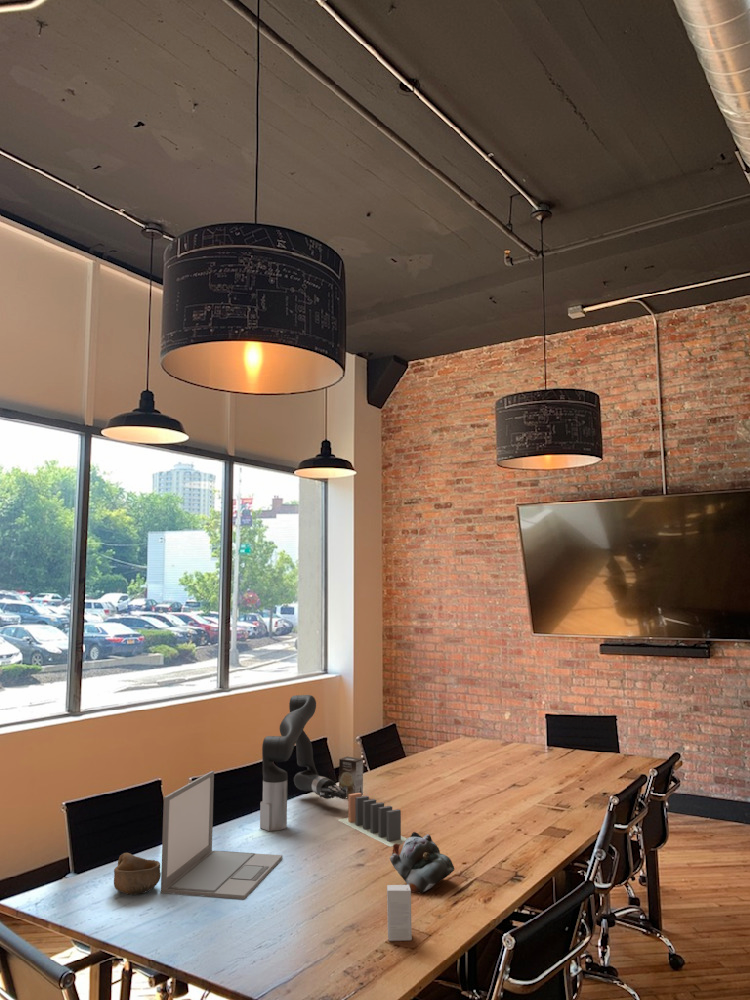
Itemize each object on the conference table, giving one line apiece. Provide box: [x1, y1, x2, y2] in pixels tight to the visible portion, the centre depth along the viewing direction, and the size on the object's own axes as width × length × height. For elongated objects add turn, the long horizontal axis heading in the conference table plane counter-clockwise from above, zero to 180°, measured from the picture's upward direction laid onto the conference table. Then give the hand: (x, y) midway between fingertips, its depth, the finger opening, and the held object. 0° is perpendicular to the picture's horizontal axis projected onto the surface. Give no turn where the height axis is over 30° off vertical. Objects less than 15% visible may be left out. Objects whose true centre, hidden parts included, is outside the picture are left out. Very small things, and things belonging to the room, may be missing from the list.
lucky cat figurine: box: [389, 831, 455, 894], centre depth 228 cm, size 17×14×16 cm
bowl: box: [113, 852, 161, 896], centre depth 223 cm, size 18×14×10 cm
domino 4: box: [370, 802, 385, 834], centre depth 277 cm, size 2×5×10 cm, turn 122°
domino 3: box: [363, 798, 377, 830], centre depth 281 cm, size 2×5×10 cm, turn 122°
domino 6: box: [387, 808, 402, 842], centre depth 268 cm, size 2×5×10 cm, turn 122°
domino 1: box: [347, 793, 362, 823], centre depth 291 cm, size 2×5×10 cm, turn 122°
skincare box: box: [386, 884, 413, 942], centre depth 192 cm, size 6×4×12 cm
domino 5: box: [378, 805, 393, 838], centre depth 272 cm, size 2×5×10 cm, turn 122°
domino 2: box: [355, 795, 370, 826], centre depth 286 cm, size 2×5×10 cm, turn 121°
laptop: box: [160, 770, 283, 900], centre depth 237 cm, size 35×26×27 cm
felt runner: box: [337, 817, 408, 848], centre depth 278 cm, size 38×10×1 cm, turn 32°
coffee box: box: [338, 756, 364, 797], centre depth 328 cm, size 9×6×16 cm
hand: (344, 796), depth 298 cm, fingers closed
